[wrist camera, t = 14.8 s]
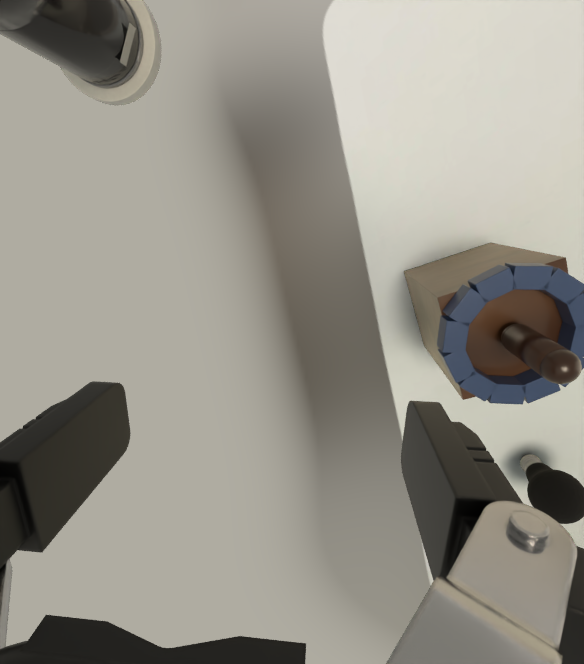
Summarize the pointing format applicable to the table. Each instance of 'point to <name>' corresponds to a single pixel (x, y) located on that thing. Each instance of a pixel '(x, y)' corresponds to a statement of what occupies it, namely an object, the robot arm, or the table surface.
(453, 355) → the ring
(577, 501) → the light bulb
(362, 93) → the table surface
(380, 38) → the table surface
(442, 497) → the robot arm
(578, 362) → the stand
